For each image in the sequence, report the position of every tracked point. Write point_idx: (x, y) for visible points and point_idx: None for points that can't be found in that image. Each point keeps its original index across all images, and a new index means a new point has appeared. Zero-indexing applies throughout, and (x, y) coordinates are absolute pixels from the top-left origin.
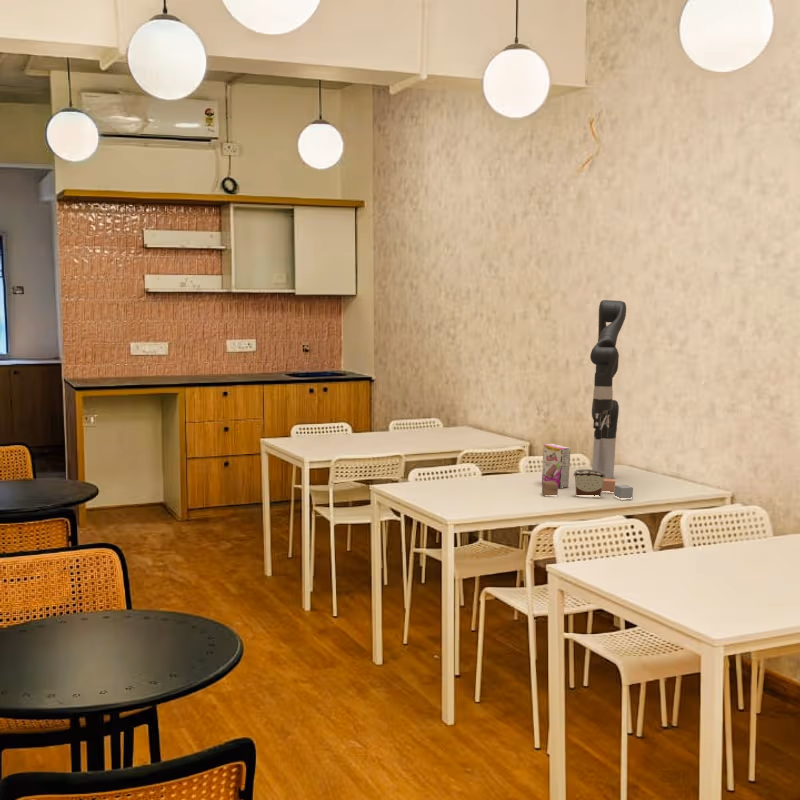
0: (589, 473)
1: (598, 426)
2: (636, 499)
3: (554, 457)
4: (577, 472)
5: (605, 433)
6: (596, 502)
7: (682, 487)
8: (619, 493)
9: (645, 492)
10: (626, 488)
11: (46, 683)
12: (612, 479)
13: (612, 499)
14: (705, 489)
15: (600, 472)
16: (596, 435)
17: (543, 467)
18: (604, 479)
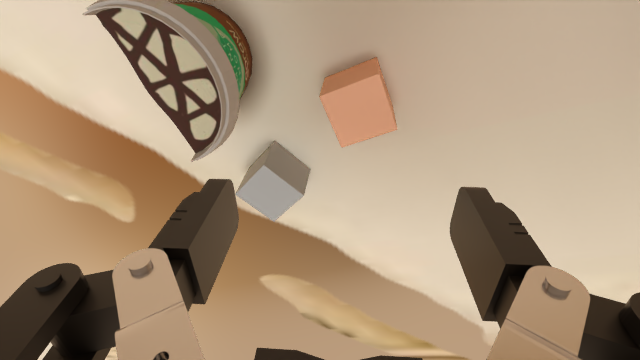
0: (148, 92)
1: (55, 347)
2: (300, 201)
3: None
4: (123, 18)
5: (464, 246)
6: (155, 110)
7: (576, 275)
8: (249, 173)
9: (430, 204)
10: (252, 204)
11: None
12: (379, 127)
13: (243, 142)
14: None
15: (219, 132)
16: (176, 217)
17: None
18: (357, 96)
